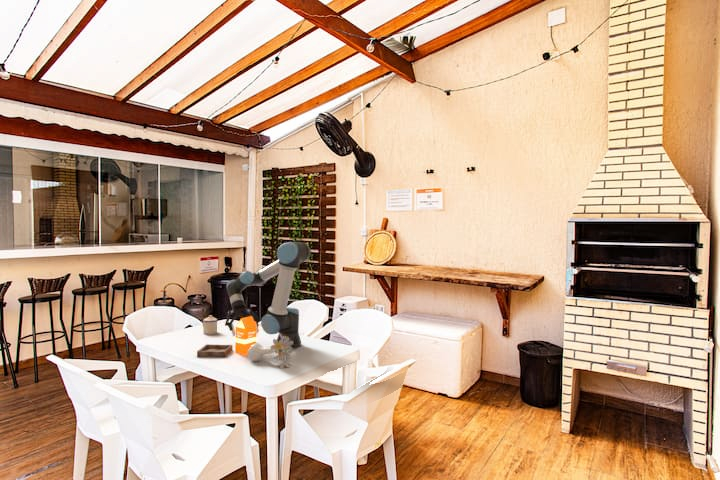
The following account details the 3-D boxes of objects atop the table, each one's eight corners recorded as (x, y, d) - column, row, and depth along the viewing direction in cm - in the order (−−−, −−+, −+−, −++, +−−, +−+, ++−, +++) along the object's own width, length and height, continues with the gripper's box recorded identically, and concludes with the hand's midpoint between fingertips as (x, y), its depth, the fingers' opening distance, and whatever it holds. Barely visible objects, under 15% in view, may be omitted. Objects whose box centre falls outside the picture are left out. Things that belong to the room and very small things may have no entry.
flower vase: (249, 375, 218) (288, 371, 208) (239, 342, 216) (277, 336, 206) (264, 364, 230) (301, 359, 220) (254, 333, 228) (291, 326, 218)
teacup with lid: (220, 332, 280) (220, 315, 280) (209, 335, 273) (209, 317, 273) (208, 330, 287) (208, 313, 287) (197, 332, 279) (197, 315, 279)
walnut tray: (232, 350, 240) (232, 345, 240) (224, 357, 226) (224, 351, 226) (206, 349, 240) (206, 344, 240) (197, 356, 226) (197, 351, 226)
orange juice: (234, 352, 236) (235, 317, 235) (246, 349, 243) (247, 315, 243) (244, 355, 231) (245, 319, 231) (256, 351, 239) (257, 316, 239)
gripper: (255, 305, 258) (264, 334, 246) (215, 308, 243) (222, 339, 231) (259, 297, 253) (268, 327, 241) (218, 300, 239) (225, 332, 227)
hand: (246, 333), depth 236 cm, fingers open, 13 cm apart
